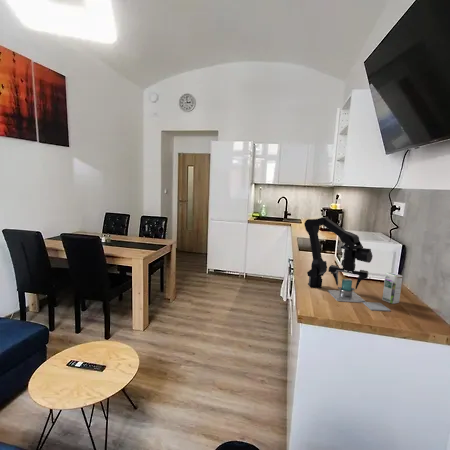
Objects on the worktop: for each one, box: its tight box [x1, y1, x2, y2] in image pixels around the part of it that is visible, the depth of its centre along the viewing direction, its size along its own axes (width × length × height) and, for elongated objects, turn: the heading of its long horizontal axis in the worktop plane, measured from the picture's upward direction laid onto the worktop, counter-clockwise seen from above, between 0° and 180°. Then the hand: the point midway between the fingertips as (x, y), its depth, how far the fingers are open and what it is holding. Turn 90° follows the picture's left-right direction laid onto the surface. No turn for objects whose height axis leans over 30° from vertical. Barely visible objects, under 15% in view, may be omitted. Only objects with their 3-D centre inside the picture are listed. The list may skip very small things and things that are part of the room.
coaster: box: [362, 301, 392, 312], centre depth 138 cm, size 9×9×1 cm
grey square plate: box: [327, 286, 366, 304], centre depth 149 cm, size 14×14×5 cm
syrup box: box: [381, 272, 404, 305], centre depth 145 cm, size 6×6×14 cm
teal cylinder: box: [341, 278, 353, 291], centre depth 149 cm, size 5×5×6 cm
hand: (346, 287), depth 149 cm, fingers open, 9 cm apart
